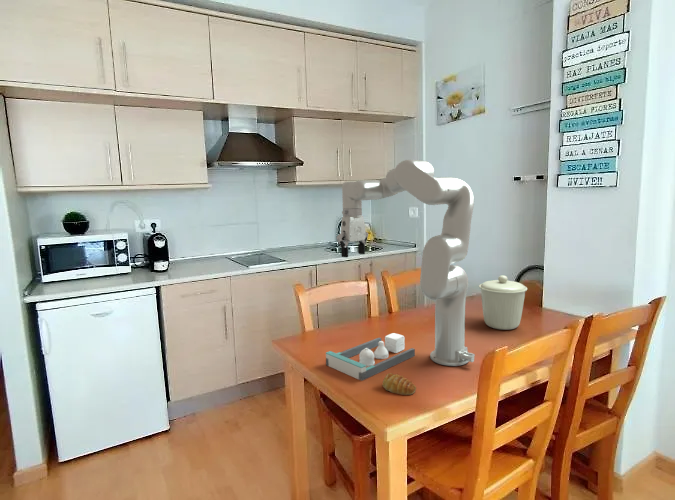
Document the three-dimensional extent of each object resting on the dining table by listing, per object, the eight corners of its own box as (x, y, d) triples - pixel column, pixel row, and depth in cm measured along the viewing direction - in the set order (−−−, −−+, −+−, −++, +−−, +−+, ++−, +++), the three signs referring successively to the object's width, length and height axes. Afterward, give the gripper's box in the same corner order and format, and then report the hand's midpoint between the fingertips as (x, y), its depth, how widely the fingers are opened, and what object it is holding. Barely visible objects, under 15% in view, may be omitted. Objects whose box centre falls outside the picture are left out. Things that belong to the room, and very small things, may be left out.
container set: (393, 346, 150) (393, 332, 149) (404, 350, 146) (404, 335, 146) (355, 363, 137) (355, 348, 136) (367, 368, 133) (367, 352, 132)
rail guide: (414, 355, 141) (414, 343, 140) (361, 380, 124) (361, 367, 123) (379, 343, 153) (378, 332, 152) (326, 365, 136) (325, 352, 135)
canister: (536, 329, 163) (538, 277, 160) (500, 336, 157) (501, 282, 154) (502, 316, 180) (503, 269, 177) (469, 322, 173) (469, 273, 170)
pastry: (420, 389, 118) (420, 377, 117) (409, 399, 112) (409, 386, 112) (391, 381, 123) (391, 369, 123) (379, 390, 118) (379, 377, 117)
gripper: (343, 214, 155) (344, 259, 157) (373, 211, 166) (374, 253, 169) (330, 214, 160) (331, 257, 162) (360, 211, 172) (361, 252, 174)
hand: (353, 255), depth 166 cm, fingers open, 9 cm apart
